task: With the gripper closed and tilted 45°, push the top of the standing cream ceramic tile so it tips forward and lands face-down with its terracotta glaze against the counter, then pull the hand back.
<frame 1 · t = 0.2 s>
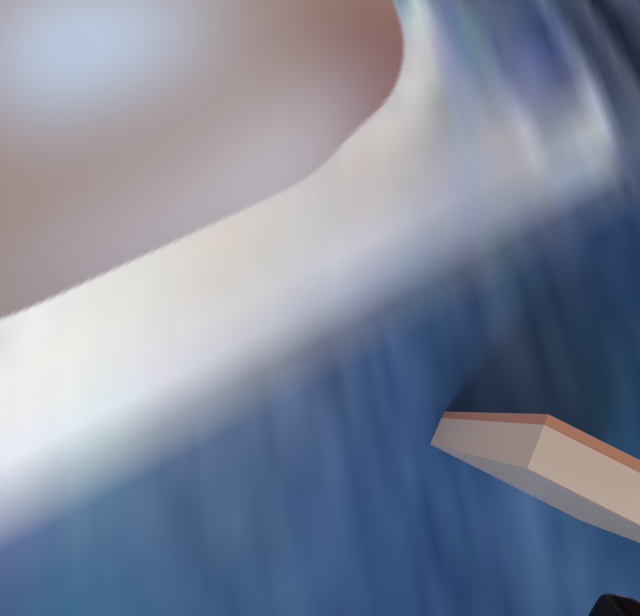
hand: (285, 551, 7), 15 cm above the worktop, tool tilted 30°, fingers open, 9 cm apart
tile: (511, 465, 23), on the worktop
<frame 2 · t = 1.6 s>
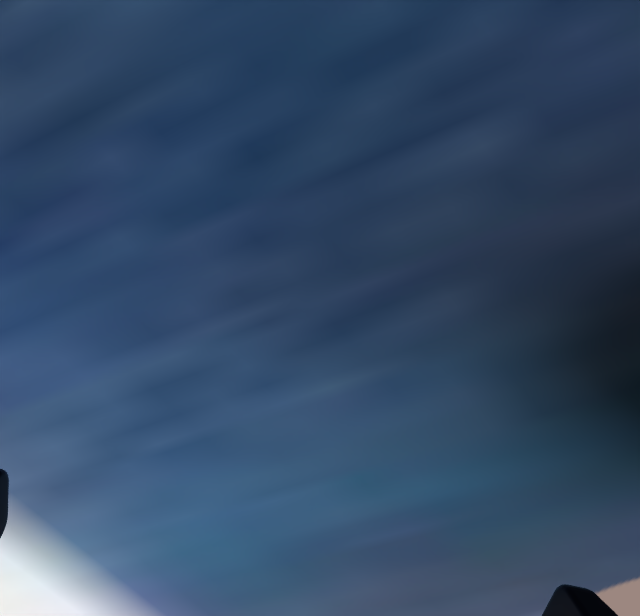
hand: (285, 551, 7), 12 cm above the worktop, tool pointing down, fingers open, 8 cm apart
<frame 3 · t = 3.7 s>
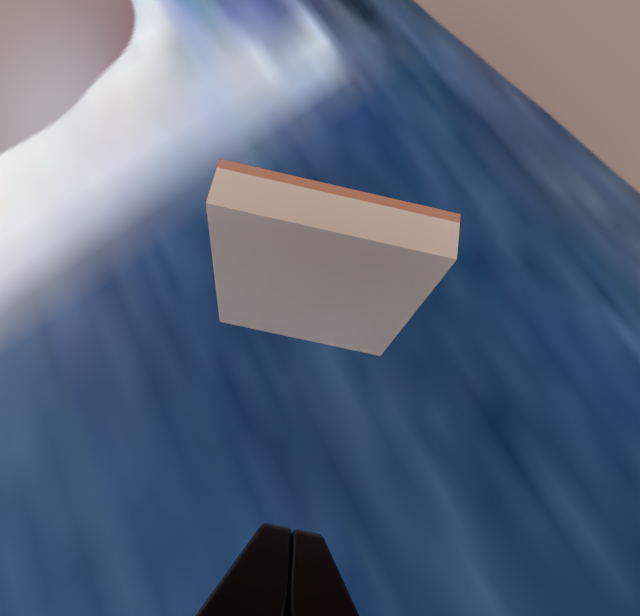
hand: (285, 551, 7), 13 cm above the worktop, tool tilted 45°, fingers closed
tile: (303, 322, 23), on the worktop
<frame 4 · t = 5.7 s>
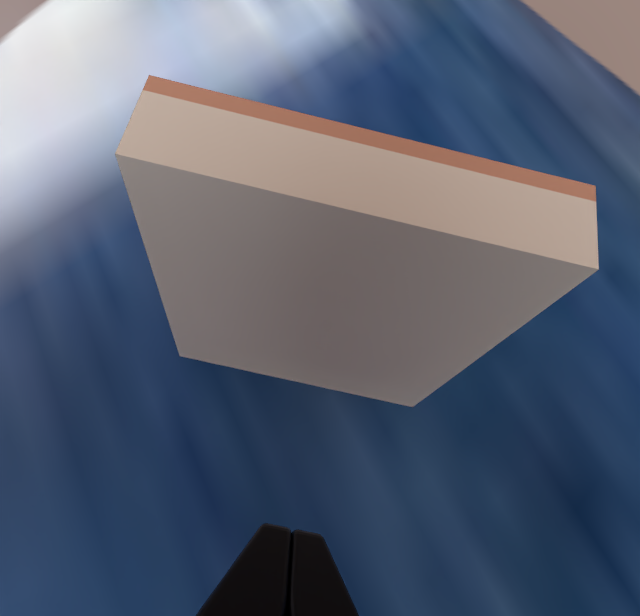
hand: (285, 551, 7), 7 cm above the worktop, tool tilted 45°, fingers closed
tile: (302, 358, 16), on the worktop
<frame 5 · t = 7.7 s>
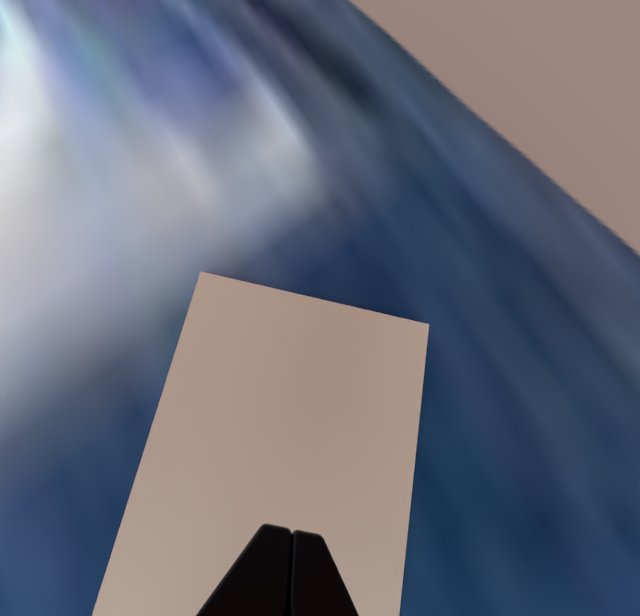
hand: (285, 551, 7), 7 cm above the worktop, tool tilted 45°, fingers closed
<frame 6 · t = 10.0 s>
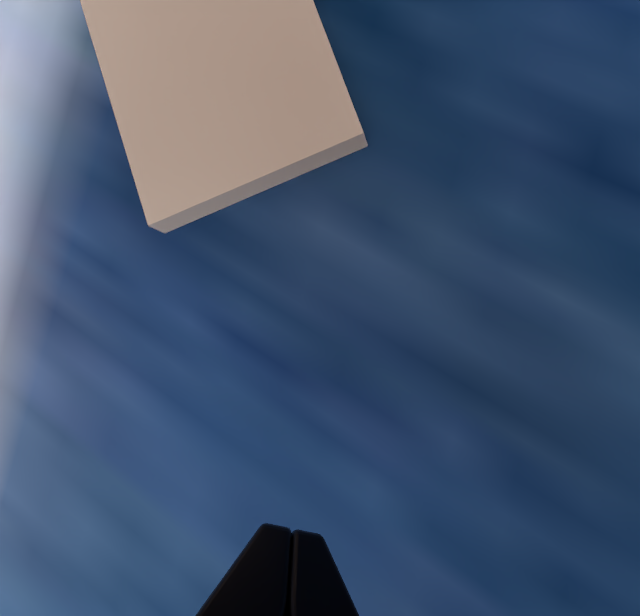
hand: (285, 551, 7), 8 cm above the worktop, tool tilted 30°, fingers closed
tile: (260, 188, 16), on the worktop, tilted 90°
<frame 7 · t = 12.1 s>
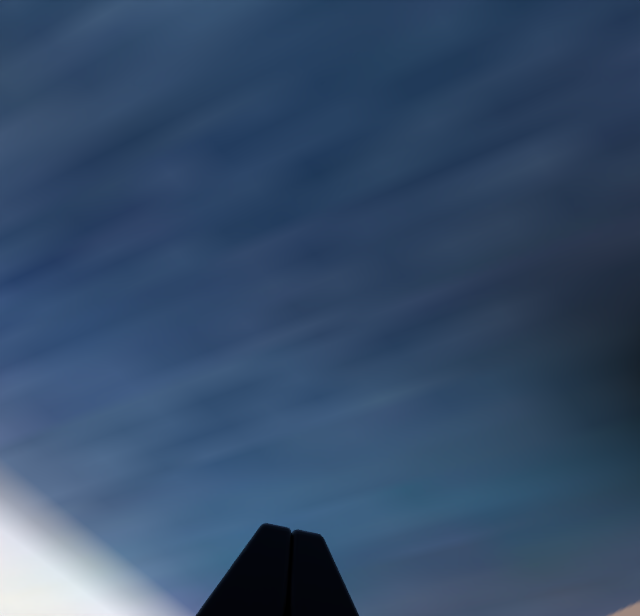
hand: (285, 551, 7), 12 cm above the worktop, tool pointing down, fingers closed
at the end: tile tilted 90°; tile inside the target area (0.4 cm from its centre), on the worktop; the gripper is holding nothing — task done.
